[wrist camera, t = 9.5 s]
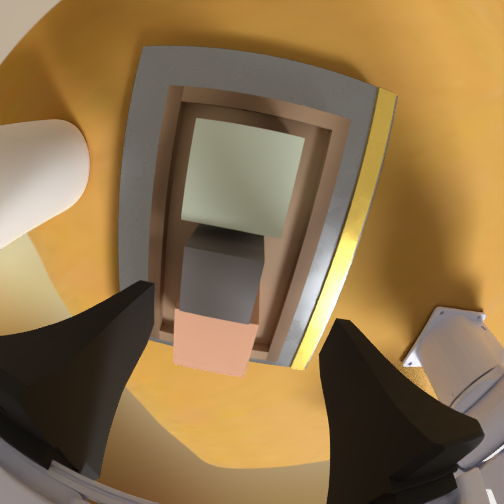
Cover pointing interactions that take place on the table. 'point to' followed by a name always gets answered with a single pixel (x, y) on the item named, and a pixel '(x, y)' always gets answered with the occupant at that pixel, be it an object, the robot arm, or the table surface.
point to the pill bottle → (39, 173)
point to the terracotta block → (214, 342)
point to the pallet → (298, 215)
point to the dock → (276, 87)
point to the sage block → (240, 177)
